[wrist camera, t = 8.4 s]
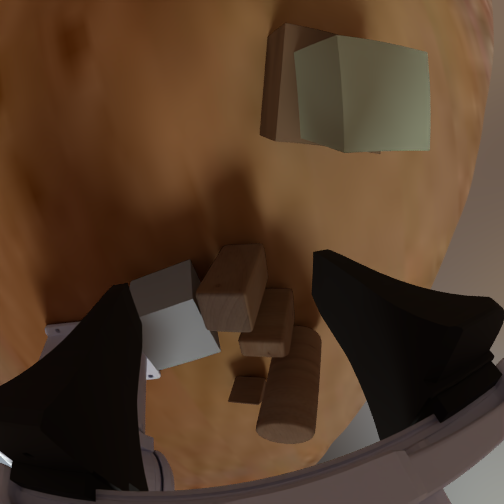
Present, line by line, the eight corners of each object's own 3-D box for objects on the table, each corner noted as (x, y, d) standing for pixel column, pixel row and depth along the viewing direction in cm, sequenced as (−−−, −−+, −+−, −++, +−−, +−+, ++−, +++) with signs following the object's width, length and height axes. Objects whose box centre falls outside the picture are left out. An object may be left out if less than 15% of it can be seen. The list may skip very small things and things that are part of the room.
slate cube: (159, 326, 24) (157, 370, 20) (131, 280, 21) (121, 322, 17) (213, 308, 24) (220, 351, 20) (189, 258, 22) (192, 298, 17)
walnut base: (258, 134, 19) (275, 141, 15) (266, 37, 16) (285, 23, 12) (349, 144, 20) (380, 154, 17) (358, 57, 17) (390, 52, 14)
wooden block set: (207, 235, 24) (146, 318, 15) (317, 229, 22) (314, 324, 13) (244, 380, 32) (220, 457, 23) (321, 382, 30) (313, 466, 21)
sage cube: (300, 138, 16) (344, 152, 11) (293, 52, 13) (336, 34, 9) (374, 135, 16) (429, 150, 12) (371, 58, 14) (427, 52, 9)
